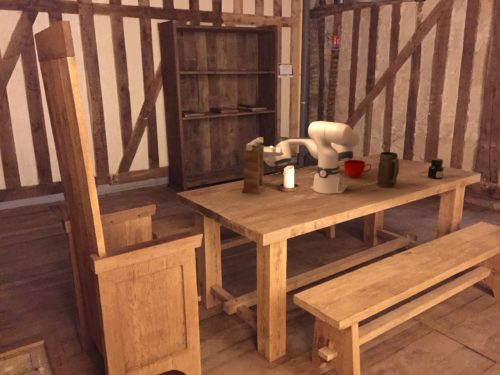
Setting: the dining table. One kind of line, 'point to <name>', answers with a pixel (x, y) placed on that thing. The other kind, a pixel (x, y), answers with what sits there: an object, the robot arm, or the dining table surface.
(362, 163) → the ceramic cup
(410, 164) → the dining table surface
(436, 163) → the ink bottle
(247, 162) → the knife block
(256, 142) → the brushed square bar end
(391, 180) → the beer stein
